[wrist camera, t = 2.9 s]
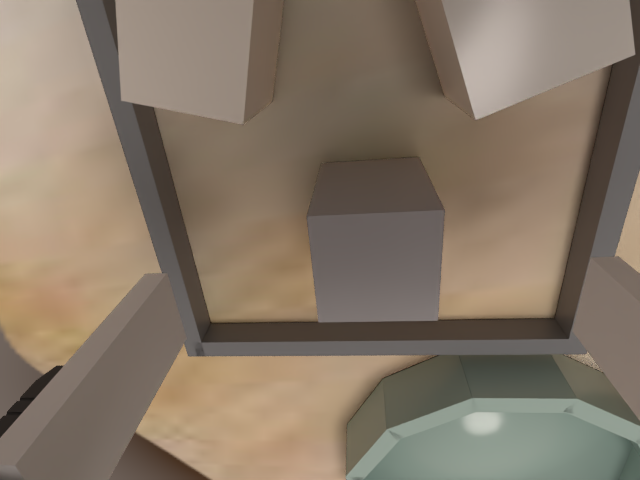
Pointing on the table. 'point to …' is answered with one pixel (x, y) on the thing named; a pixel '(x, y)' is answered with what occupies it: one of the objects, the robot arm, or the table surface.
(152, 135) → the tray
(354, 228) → the grey square pillar
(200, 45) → the light grey block
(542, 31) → the pale grey block
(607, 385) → the bowl
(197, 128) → the table surface
